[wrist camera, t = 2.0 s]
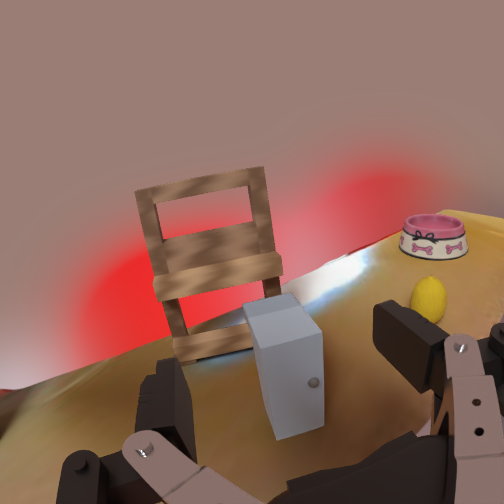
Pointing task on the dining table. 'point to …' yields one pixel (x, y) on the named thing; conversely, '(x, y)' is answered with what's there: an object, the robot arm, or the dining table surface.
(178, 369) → the robot arm
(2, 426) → the dining table surface
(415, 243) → the dog bowl
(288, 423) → the cabinet
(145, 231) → the rack
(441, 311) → the lemon
